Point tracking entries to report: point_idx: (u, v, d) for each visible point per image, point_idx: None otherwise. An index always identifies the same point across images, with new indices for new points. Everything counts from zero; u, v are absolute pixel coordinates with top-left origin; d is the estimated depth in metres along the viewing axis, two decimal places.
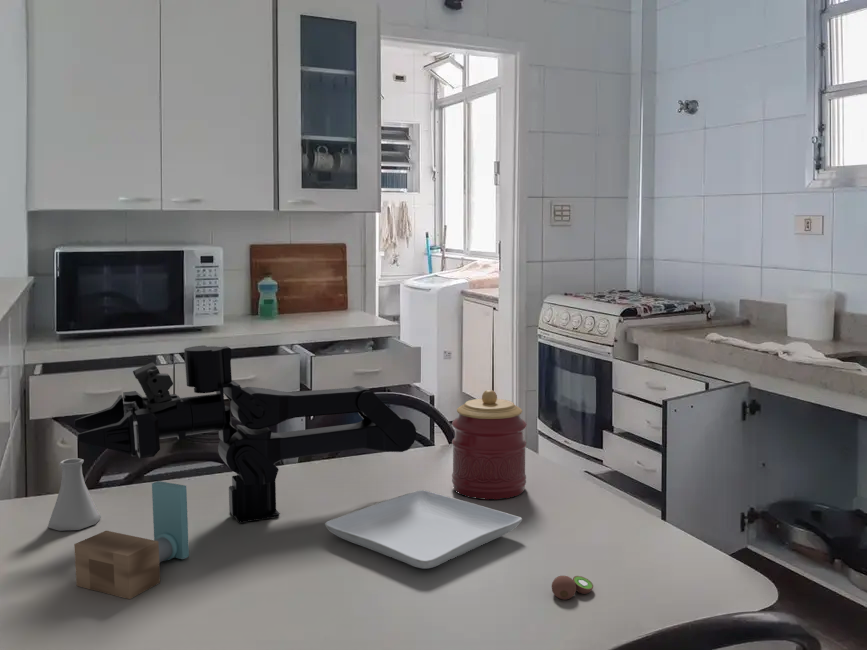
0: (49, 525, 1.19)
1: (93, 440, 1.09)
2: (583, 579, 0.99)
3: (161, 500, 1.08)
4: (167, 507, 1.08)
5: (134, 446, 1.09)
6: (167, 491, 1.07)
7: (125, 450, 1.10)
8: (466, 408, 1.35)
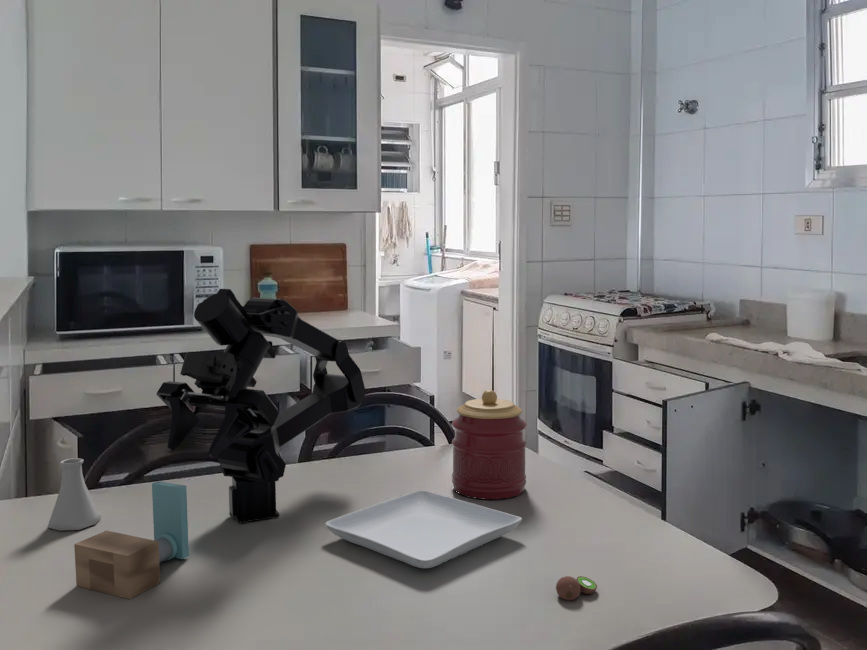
0: (49, 525, 1.19)
1: (222, 446, 1.11)
2: (586, 579, 0.99)
3: (161, 500, 1.08)
4: (167, 507, 1.08)
5: (256, 422, 1.14)
6: (167, 491, 1.07)
7: (247, 430, 1.14)
8: (466, 408, 1.35)
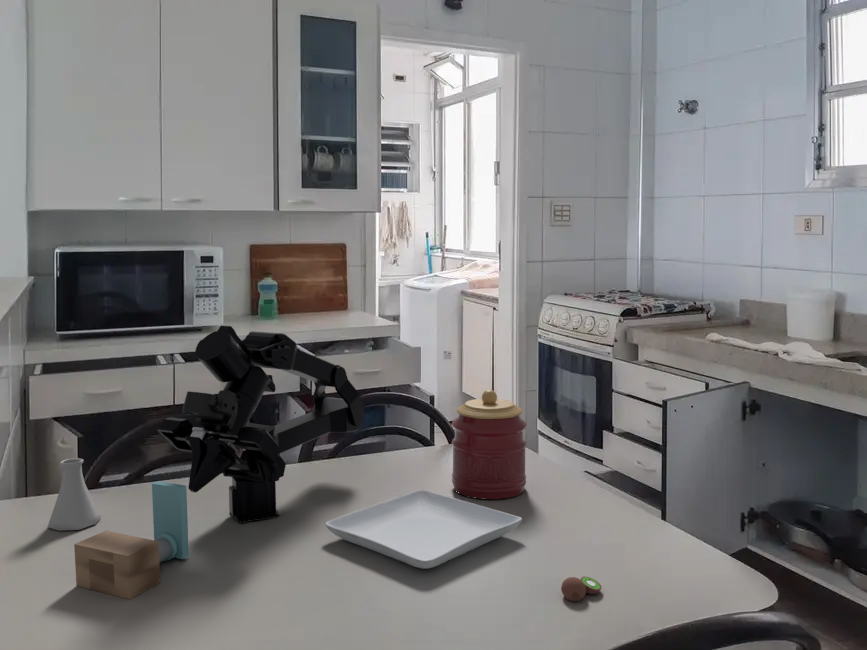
0: (49, 525, 1.19)
1: (205, 481, 1.13)
2: (590, 580, 0.99)
3: (161, 500, 1.08)
4: (167, 507, 1.08)
5: (238, 457, 1.16)
6: (167, 491, 1.07)
7: (229, 464, 1.16)
8: (466, 408, 1.35)
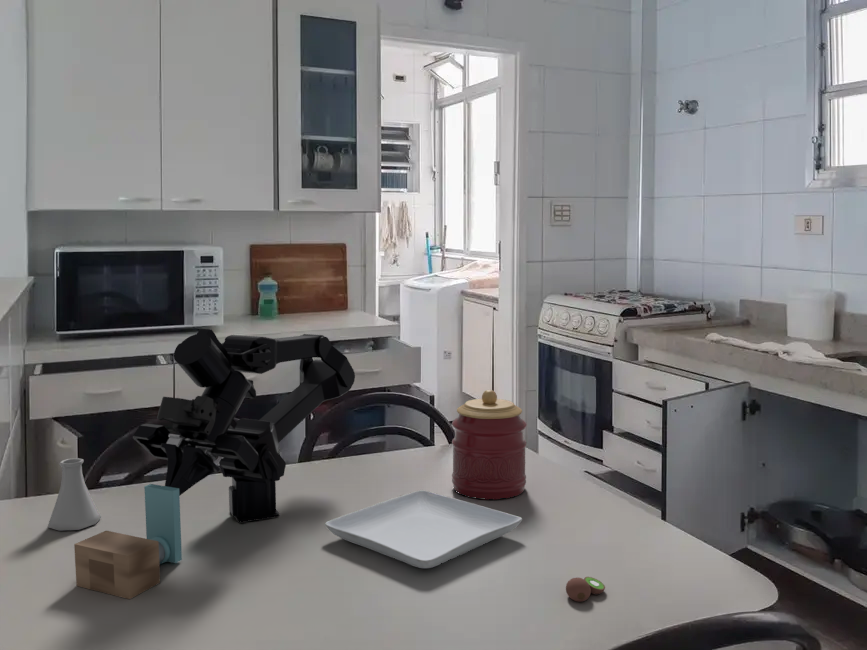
0: (49, 525, 1.19)
1: (180, 490, 1.09)
2: (593, 580, 0.99)
3: (154, 503, 1.07)
4: (159, 510, 1.06)
5: (215, 465, 1.11)
6: (160, 494, 1.06)
7: (206, 473, 1.12)
8: (466, 408, 1.35)
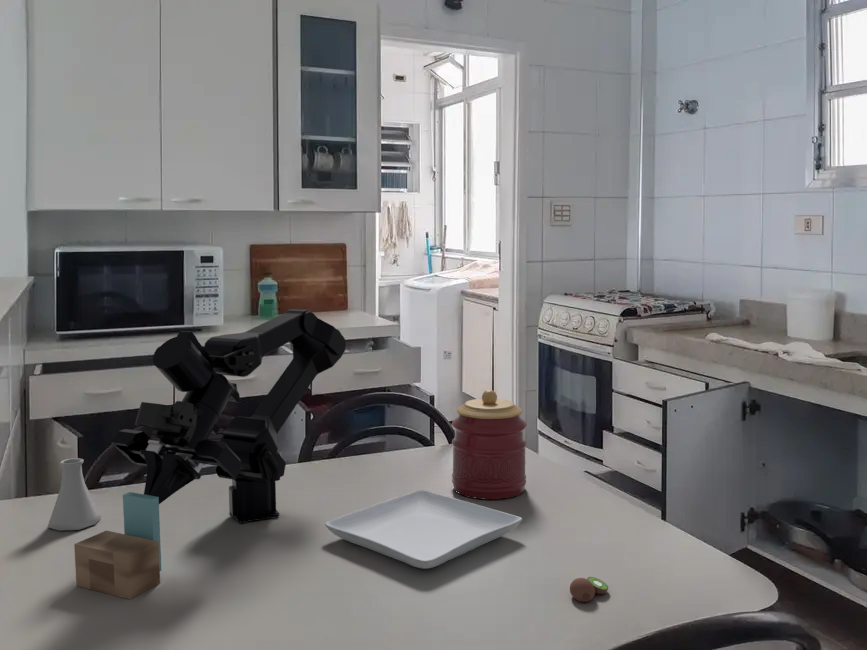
0: (49, 525, 1.19)
1: (160, 499, 1.05)
2: (596, 580, 0.99)
3: (132, 512, 1.03)
4: (138, 519, 1.03)
5: (196, 472, 1.07)
6: (138, 503, 1.03)
7: (187, 480, 1.08)
8: (466, 408, 1.35)
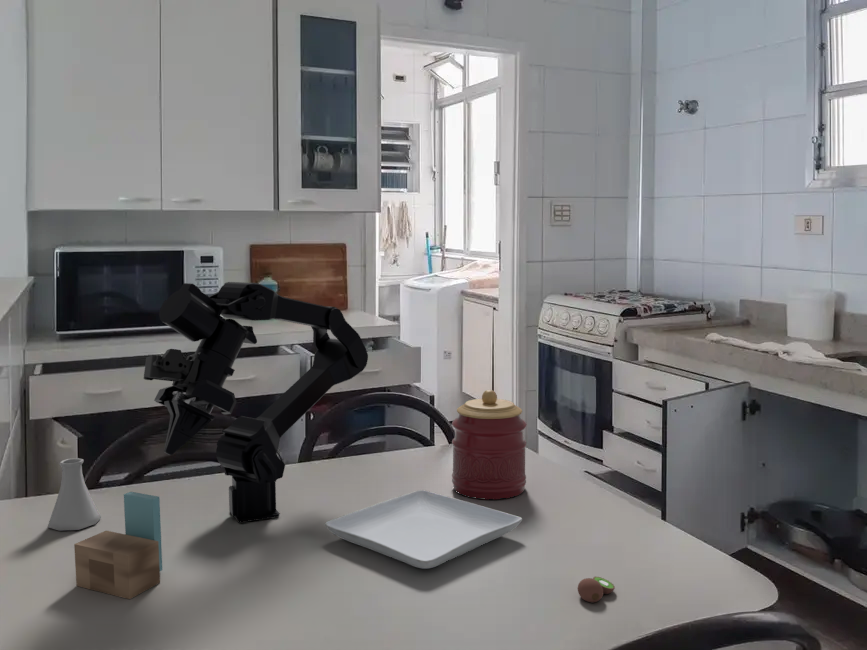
0: (49, 525, 1.19)
1: (178, 442, 1.12)
2: (601, 579, 0.99)
3: (133, 512, 1.03)
4: (139, 519, 1.03)
5: (206, 413, 1.12)
6: (139, 502, 1.03)
7: (204, 422, 1.13)
8: (466, 408, 1.35)
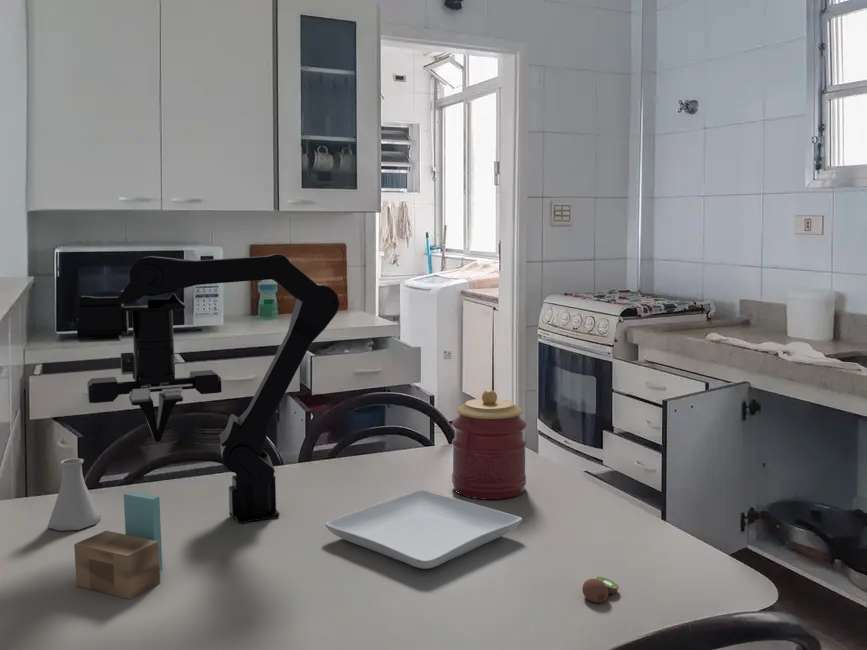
0: (49, 525, 1.19)
1: None
2: (604, 579, 0.99)
3: (133, 512, 1.03)
4: (139, 519, 1.03)
5: (131, 401, 1.16)
6: (139, 502, 1.03)
7: None
8: (466, 408, 1.35)
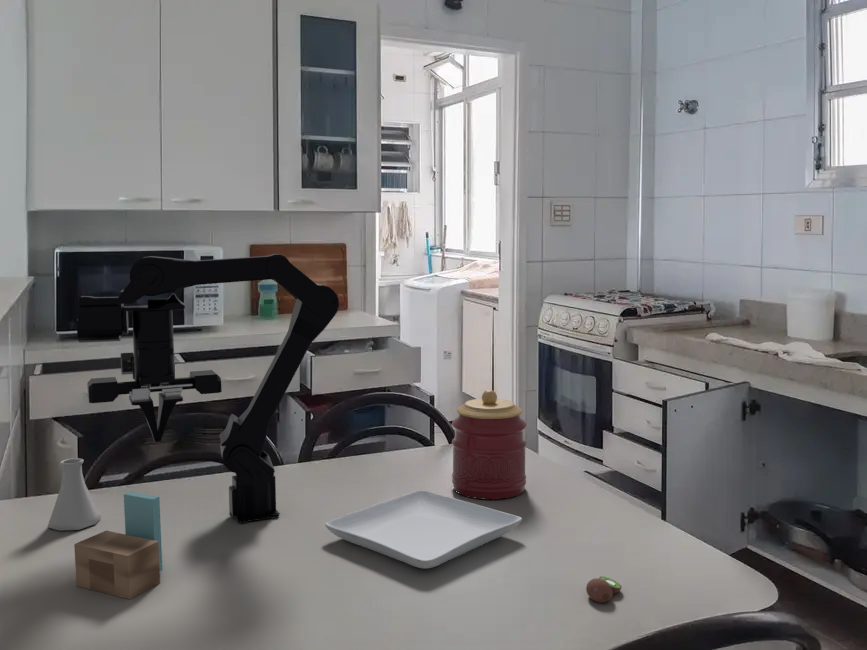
0: (49, 525, 1.19)
1: None
2: (607, 579, 0.99)
3: (133, 512, 1.03)
4: (139, 519, 1.03)
5: (131, 401, 1.16)
6: (139, 502, 1.03)
7: None
8: (466, 408, 1.35)
